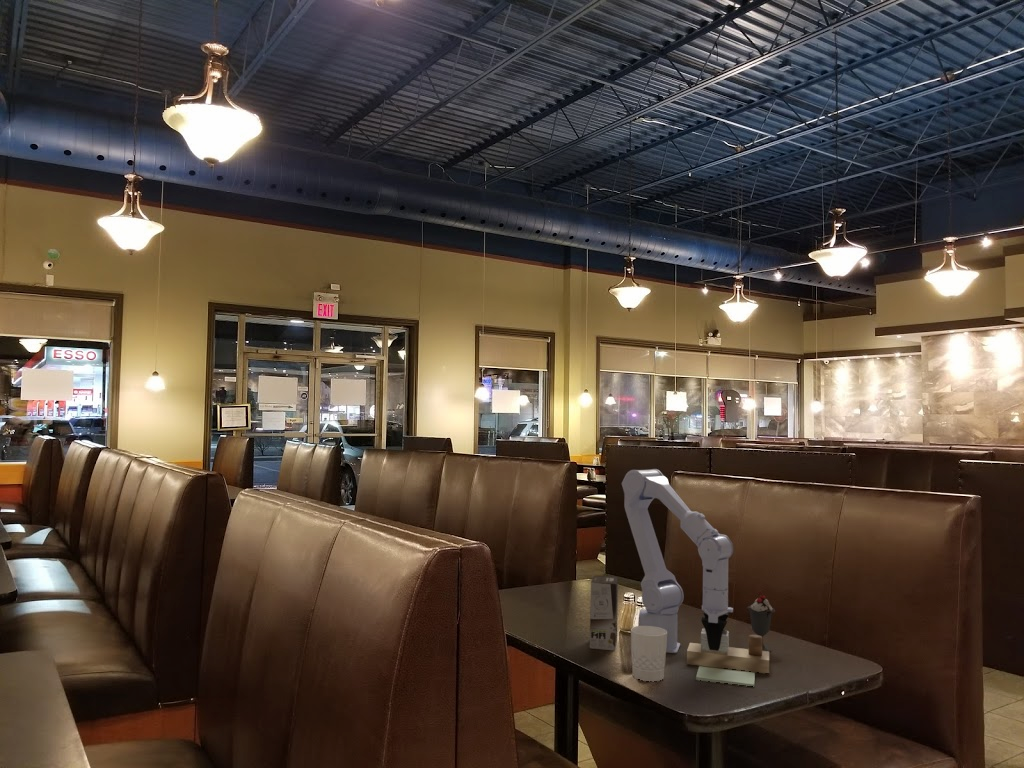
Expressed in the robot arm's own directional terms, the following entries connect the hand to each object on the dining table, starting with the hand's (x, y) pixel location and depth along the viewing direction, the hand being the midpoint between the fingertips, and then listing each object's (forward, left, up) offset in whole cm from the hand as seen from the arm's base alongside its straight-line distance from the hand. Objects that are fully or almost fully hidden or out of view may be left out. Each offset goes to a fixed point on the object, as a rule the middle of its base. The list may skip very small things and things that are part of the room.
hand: (714, 646), depth 177 cm
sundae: (+10, +15, -4) cm, 18 cm away
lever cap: (0, 0, -1) cm, 1 cm away
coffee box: (-27, +4, -4) cm, 28 cm away
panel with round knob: (+3, 0, -4) cm, 5 cm away
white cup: (-13, -16, -4) cm, 21 cm away
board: (+3, -10, -4) cm, 11 cm away
